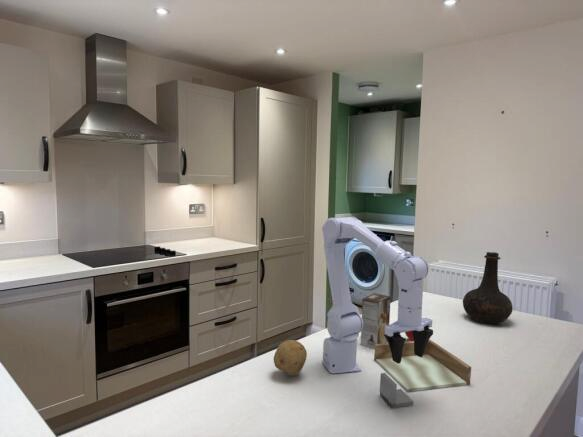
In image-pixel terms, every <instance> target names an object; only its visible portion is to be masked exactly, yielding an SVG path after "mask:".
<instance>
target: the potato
mask: <svg viewBox="0 0 583 437" xmlns="http://www.w3.org/2000/svg"><path fill="white" fill-rule="evenodd" d="M307 355H308V353H307V349H306V348H305V346H304V345H303V344H302V342H300V341H298V340H295V339H287V340H284V341H283V342H281V343H280V344H279V345H277V348H276V351H275V353H274V356H273V364H274V366H275V368H277V369H278V370H279V371H282V372H284V373H285V374H286V375H287V376H290V377H294V376H296V375H297V374H299V373H300V372H301V371H302V370H303V368H304V366H305V362H306V361H307V357H308V356H307Z"/></svg>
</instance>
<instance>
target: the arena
mask: <svg viewBox="0 0 583 437" xmlns="http://www.w3.org/2000/svg"><path fill="white" fill-rule="evenodd" d="M373 361H375V362H376V363H377V364H378V365H379V366H380V367H381V368H382V369H383V370H384V371H385V373H386V374H387V375H388V376H389V377H390V378H391V379H392V380H393V381H394V382H395V383H396V382H397V383H398V385H399V386H401V388H402V389H404V390H405V391H406V392H407V393H412V392H420V391H427V390H436V389H444V388H452V387H454V388H455V387H461V386H469V385H471V375H472V366H470V365H469V364H467V363H466V362H464V360H461V359H460V358H458V356H455V355H454V354H453V353H451V352H449V351H448V350H446V349H445V348H443V347H442V346H440V345H439V344H437V343H436V342H434V341H433V340H431V339H429V341H428V343H427V345H426V348H425V351H424V354H423V357H419V356H417V355H415V353H414V341H411V340H409V341H405V343H404V346H403V350H402V359H401V363H399V364H398V363H396V362H394V361H393V359H392V354H391V350H390V347H389V344H388V342H387V343H384V344H375V349H374V360H373Z"/></svg>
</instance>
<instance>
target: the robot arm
mask: <svg viewBox="0 0 583 437" xmlns="http://www.w3.org/2000/svg"><path fill="white" fill-rule="evenodd" d="M321 229H322V234H323V235H322V236H323V250H324V256H325V262H326V269H327V274H328V282H329V287H330V294H331V300H332V306H331V308H330V309H329V311H328V312H327V314H326V315H327V324H326V327H327V332H328V334H329V337H325V338H324V340H323V347H322V348H323V349H322V350H323V351H322V360H321V362H322V363H323V364H322V365H324V367H325V368H326V370H327V371H328V372H329V373H330V374H331V375H332V374H334V375H335V374H341V373H342V374H343V373H350V372H361V371H362V368H361V367H360V366H359V365H358V364H357V352H358V351H357V349H358V348H357V347H358V338H359V337H360V336H359V335H360V334H361V331H362V329H363V320H362V315H361V314H360V310H359V307H358V306H356V305H355V304H354V303H353V302H352V298H351V291H350V286H349V284H350V283H349V279H348V273H347V272H348V271H347V267H346V261H345V255H344V249H345V248H346V246H347V245H349V243H350V242H352V241H353V240H354V239H355V240H357V241H359V242H360V243H362V245H364V246H366V247H368V248H370V249H371V250H372V251H374V252H375V256H376V258H377V259H378V260H379V261H380V262H381V263H383V264H384V265H386V266H387V267H388V268H390V270H392V271H394V274H395V278H396V279H397V286H398V299H397V301H398V302H397V303H398V304H397V320H396V321H394V322H392V323H391V324H390V323H389V325H388V326H385V332H384V336H385V338H386V340H387V343H388V344H389V347H390V350H391V354H392V359H393V361H394V362H396V363H398V364H399V363H401V359H402V350H403V346H404V343H405V342H407V338H406V337H404V336H402V333H405V332H407V331H411V330H412V332H413V337H414V353H415V355H417V356H419V357H423V354H424V351H425V348H426V345H427V343H428V341H429V340H431V338H432V336H433V335H434V330H433V329H432V328H433V319H432V318H429V317H423V316H422V315H423V296H424V295H423V293H424V279H425V278H426V277H427V276H428V273H429V265H428V263H427V261H426V260H425V259H424V258H423V257H422V256H420V255H415V256H413V255H412V253H411V251H406V250H405V249H403V248H401V246H399V245H398V242H396V241H395V240H385V241H384V240H383V239H381V237H379V236H377V235H376V234H375V233H374V232H373V231H371V229H370V228H368V227H366V226H365V225H364V223H363V221H361V220H360V219H358V218H357V217H355V216H349V217H348V216H347V217H346V216H345V217H329V218H327V219H326V220H325V222H324V224H323V226H321ZM359 333H360V334H359Z"/></svg>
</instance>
